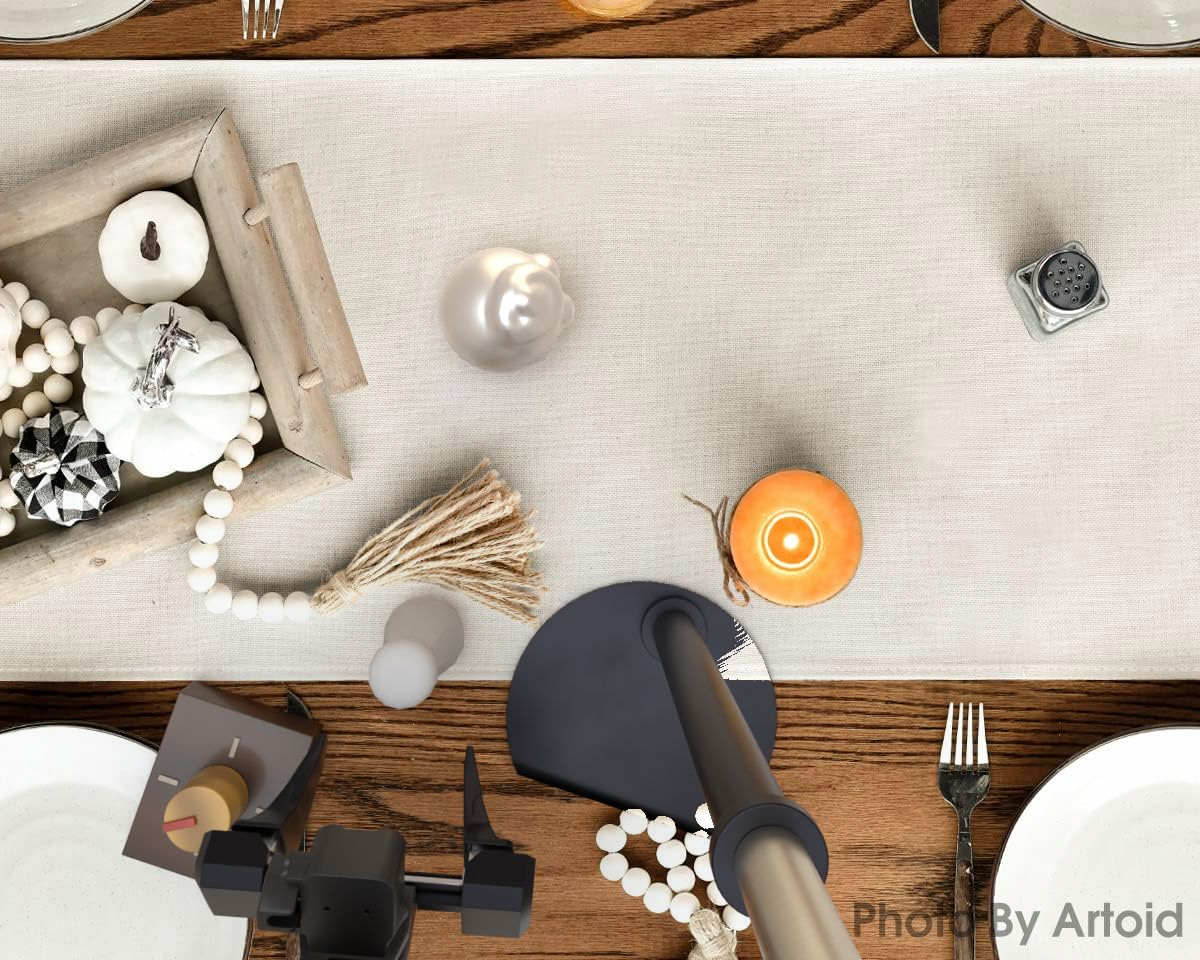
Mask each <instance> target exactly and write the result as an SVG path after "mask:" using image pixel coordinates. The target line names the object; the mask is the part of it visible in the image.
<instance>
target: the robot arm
mask: <svg viewBox="0 0 1200 960" xmlns="http://www.w3.org/2000/svg"><path fill="white" fill-rule="evenodd" d="M328 742H329V739H328V735H327V733H320V735H319V736H318V738H317V739H316V741H315V742H314V744H313V745H312V747H311V748H310V750H309V751H308V753H307V754H306V756H305V757H304V759H303V760H302V762H301V763H300V765H299V766H298V768H297V769H296V771H295V772H294V774H293V775H292V777H291V778H290V780H289V781H288V783H287V784H286V786H285V787H284V788H283V790H282V791H281V792H280V793H279V795H278V796H277V797H276V798H275V799H274V801H273V802H272V803H271V804H270V805H269V806H268V807H267V808H266V809H265V810H264V811H262V812H260V813H259V814H257V815H256V816H254V817H252V818H250V819H237V820H235V821H234V822H233V824H232V825H231V827H230V829H231V831H223V830H211V831H208V832H206V833H204V836H203V839H202V843H201V846H200V849H199V852H198V855H197V859H196V862H195V871H194V879H193V880H194V881H195V883H196V885H197V887H198V888H199V891H200V893H201V895H202V897H203V898H204V901H205V903H206V905H207V906H208V908H209V910H210V912H211V914H212V915H213V916H216V917H229V918H240V919H256V928H257V930H258V931H261V932H262V931H263V932H276V933H278V932H279V933H288V934H296V935H297V934H298V940H299V941H298V943H299V959H298V960H409V958H410V952H411V947H412V940H413V934H414V927H415V923H416V922H415V921H416V915H417V911H429V912H440V913H441V912H442V913H453V914H454V913H455V914H460V926H461V928H460V929H461V931H460V932H461V935H464V936H465V935H466V936H467V935H468V936H480V937H493V938H506V939H517V940H518V939H520V938H521V937H522V936H523V935H524V934H525V933H526V932H527V931H528V930H529V929H530V928H531V918H532V911H533V910H532V908H533V897H534V887H535V876H536V863H537V858H536V857H533V856H531V855H529V854H527V853H519V852H518V853H517V852H515V843H514V842H513V841H511V840H510V839H506V838H499V837H498V836H497V834H496V832H495V831H494V828H493V827H492V824H491V820H490V818H489V816H488V812H487V809H486V806H485V802H484V798H483V793H482V787H481V782H480V781H481V780H480V777H479V770H478V765H477V759H476V755H475V749H474V746H473V745H466V748H465V755H464V760H463V761H464V762H463V804H462V805H463V807H462V808H463V810H462V811H463V812H462V813H463V815H462V816H463V817H462V818H463V819H462V820H463V822H462V823H463V824H462V827H463V828H462V830H463V831H462V857H463V858H462V859H463V869H462V874H451V873H450V874H449V873H437V872H425V871H411V870H406V851H407V841H406V840H405V837H404V836H403V835H402V834H401V833H400V832H398V831H396V830H394V829H390V828H378V829H376V830H366V829H365V830H364V829H353V828H351V829H350V828H344V827H343V825H341V824H326V825H323V826H321V827H319V828H318V829H317V830H316V832H315V835H314V837H313V840H312V843H311V844H312V845H311V847H310V850H309V851H305V850H300V847H301V843H302V840H303V836H304V833H305V830H306V827H307V824H308V821H309V817H310V813H311V810H312V806H313V803H314V800H315V797H316V794H317V790H318V786H319V783H320V780H321V777H322V774H323V769H324V766H325V759H326V755H327V749H328Z"/></svg>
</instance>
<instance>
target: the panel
mask: <svg viewBox="0 0 1200 960" xmlns="http://www.w3.org/2000/svg"><path fill="white" fill-rule="evenodd" d="M323 727H324V724H323V723H321V722H318V721H316V720H313V719H309V718H307V717H304V716H301V715H298V714H295V713H292V712H289V711H286V710H283V709H280V708H277V707H274V706H271V705H268V704H266V703H262V702H260V701H256V700H254V699H251V698H247V697H244V696H241V695H239V694H235V693H233V692H230V691H227V690H225V689H221V688H218V687H215V686H212V685H211V684H210V685H209V684H208V683H207V684H206V683H203V682H200V681H198V680H193V681H192V682H190V683H189V684H188V685H187V686H185V687H184V688H182V689H181V690H180V691H179V692H178V694H177V697H176V701H175V703H174V706H173V709H172V712H171V714H170V717H169V720H168V722H167V725H166V728H165V731H164V734H163V737H162V740H161V742H160V745H159V748H158V750H157V754H156V756H155V758H154V762H153V764H152V768H151V770H150V773H149V776H148V779H147V782H146V784H145V787H144V790H143V793H142V796H141V798H140V801H139V804H138V807H137V810H136V812H135V815H134V819H133V821H132V823H131V826H130V829H129V832H128V835H127V838H126V840H125V844H124V846H123V848H122V852H121V855H122V856H124V857H126V858H130V859H132V860H136V861H139V862H141V863H144V864H146V865H147V864H148V865H151V866H153V867H156V868H159V869H161V870H165V871H168V872H171V873H174V874H176V875H181V876H184V877H186V878H189V879H191V880H195V879H194V871H195V862H196V859H197V855H198V853H193V852H188V851H185V850H182V849H180V848H179V847H177V846H176V845H175V844H174V843H173V842H172V841H171V840H170V838H169V837H168V835H167V833H166V832H165V833H164V830H163V824H164V814H165V810H166V807H167V805H168V803H169V801H170V800H171V799H172V798H173V797H174V795H175V794H176V793H177V792H178V791H179V790H180V789H181V788H182V787H183V786H184V785H185V784H186V783H187V782H188V781H189V780H190V779H191V778H192V777H193V776H194V775H195V774H196V773H197V772H199V771H200V770H202V769H204V768H206V767H209V766H214V765H221V766H226V767H229V768H231V769H233V770H235V771H236V772H238V773H239V774H240V775H241V777H242V778H243V779H244V781H245V783H246V785H247V789H248V804H247V807H246V810H245V812H244V813H243V815H242V816H241V817H240V819H250V818H252V817H254V816H256V815H257V814H259V813H260V812H262V811H264V810H265V809H266V808H267V807H268V806H269V805H270V804H271V803H272V802H273V801H274V799H275V798H276V797H277V796H278V795H279V793H280V792H281V791H282V790H283V788H284V787H285V786H286V784H287V783H288V781H289V780H290V778H291V777H292V775H293V774H294V772H295V771H296V769H297V768H298V766H299V765H300V763H301V762H302V760H303V759H304V757H305V756H306V754H307V753H308V751H309V750H310V748H311V747H312V745H313V744H314V742H315V741H316V739H317V738H318V736H319V735H320V734H322V730H323ZM230 831H231V830H230Z"/></svg>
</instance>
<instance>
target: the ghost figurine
mask: <svg viewBox="0 0 1200 960" xmlns="http://www.w3.org/2000/svg"><path fill="white" fill-rule="evenodd" d="M560 278H561V270H560V267H559V265H558V263H557V262H556V261H555V260H554V259H553V258H552V257H551V256H550V255H548V254H547V253H543V252H537V253H536V252H535V253H529V252H526V251H523V250H521V249H517V248H512V247H503V246H502V247H501V246H498V247H490V248H485V249H481V250H479V251H476V252H474V253H471V254H470V255H468V256H467V257H465V258H464V259H462V260H461V261H459V263H458V264H456V266H455V267H454V268H453V269H451V271H450V273H449V274H448V276H447V277H446V279H445V280H444V283H443V285H442V287H441V290H440V294H439V299H438V306H437V307H438V310H437V311H438V312H437V313H438V321H439V326H440V329H441V332H442V334H443V337H444V338H445V341H446V342H447V344H448V345H449V347H450V348H451V349H452V351H453V352H454V353H455V354H456V355H457V356H458V357H459V358H460V359H462V360H463V361H464V362H466V363H467V364H469V365H471V366H473V367H475V368H477V369H480V370H483V371H486V372H490V373H491V372H492V373H501V374H502V373H512V372H517V371H521V370H524V369H526V368H528V367H530V366H533V365H534V364H536V363H537V362H539V361H540V360H541V359H543V357H546V355H547V354H549V351H551V349H552V348H553V346H554V345H555V344H556V342H557V340H558V338H559V336H560V333H562V331H563V330H564V329H567V328H568V327H569V326H570V325H571V324H572V323H573V321H574V319H575V317H576V316H575V315H576V309H575V302H574V300H573V299H572V297H571V296H569V294H567V293H566V292H564V289H563V287H562V285H561V283H560Z"/></svg>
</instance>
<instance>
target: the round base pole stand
mask: <svg viewBox="0 0 1200 960" xmlns="http://www.w3.org/2000/svg"><path fill="white" fill-rule="evenodd" d="M631 581H632V582H630V581H623V582H624V583H622V582H617V583H616V584H615V583H611V584H612V585H611V584H608V585H609V586H608V585H605V587H604V586H601V587H597V588H595V589H593V590H590V591H588V592H585V593H583V594H581V595H579V596H578V597H576V598H574V599H572V600H571V601H569V602H567V603H566V604H564V605H563V606H562V607H561V608H559V609H558V610H556V611H555V612H554V613H553V614H552V615H551V616H550V617H549V618H547V620H545V622H544V623H542V625H541V626H540V627H539V628H538V629H537V630H536V632H535V633H534V634H533V636H532V637H531V638H530V640H529V641H528V643H527V644H526V646H525V648H524V650H523V652H522V653H521V655H520V657H519V659H518V662H517V665H516V666H515V669H514V671H513V674H512V678H511V681H510V685H509V689H508V693H507V694H508V695H507V701H506V709H505V731H506V739H507V746H508V747H507V748H508V750H509V754H510V757H511V762H512V765H513V767H514V769H515V772H516V775H517V776H520V777H523V778H526V779H528V780H531V781H535V782H537V783H540V784H543V785H546V786H549V787H552V788H555V789H558V790H561V791H564V792H566V793H570V794H572V795H576V796H579V797H582V798H585V799H587V800H590V801H594V802H596V803H599V804H602V805H605V806H608V807H612V808H614V809H618V810H620V811H623V812H626V810H628V809H641V810H642V811H643V812H644V813H645V815H646V818H647V820H650V821H651V822H655V821H654V820H655V819H656V818H657V817H658V816H666V817H669V818H671V819H672V820H673V821H674V822H675V826H676V828H675V829H676V830H679V831H682V832H685V833H688V834H690V835H694V836H696V834H693V833H695V832H697V831H700V830H703V831H705V832H707V834H708V835H709V836H708V838H710V840H709V844H708V845H709V846H708V861H709V866H710V869H711V874H712V876H713V880H714V883H715V886H716V889H717V890H718V892H719V894H720V896H721V897H722V898H723V900H724V901H725V902H726V903H727V904H728V905H729V906H730V907H731V908H732V909H733V910H734V911H736V912H737V913H739V914H741V915H742V916H744V917H746V918H747V919H748V918H749V922H750V923H751V924H750V925H751V927H752V929H753V932H754V935H755V939H756V941H757V945H758V947H759V950H760V953H761V957H762V959H763V960H863V959H862V957H861V955H860V952H859V951H858V949H857V947H856V945H855V942H854V941H853V939H852V937H851V934H850V933H849V931H848V929H847V927H846V925H845V923H844V921H843V919H842V917H841V915H840V914H839V911H838V910H837V907H836V905H835V904H834V901H833V899H832V897H831V896H830V894H829V891H828V889H827V887H826V886H825V885H826V882H827V879H828V874H829V868H830V854H829V849H828V845H827V842H826V839H825V836H824V834H823V832H822V830H821V829H820V827H819V825H818V823H817V822H816V819H814V817H813V816H812V814H810V812H809V811H808V810H807V809H806V808H805V807H804V806H803V805H801V804H799V802H797V801H795V800H793V799H791V798H789V797H786V796H785V794H784V792H783V790H782V788H781V787H780V784H779V783H778V781H777V778H776V777H775V775H774V773H773V771H772V769H771V767H770V763H771V759H772V756H773V752H774V748H775V745H776V737H777V736H776V735H777V728H778V707H777V701H776V692H775V688H774V685H773V680H772V681H769V680H764V681H762V680H755V681H754V680H738V679H737V680H729V678H728V679H723V677H722V675H721V673H723V672H725V671H727V670H728V669H727V670H724V671H722V672H720V671H719V669H720V668H722V667H724V666H722V667H720V666H721V665H723V664H725V663H723V664H721V665H718V664H720V663H722V662H723V661H725V660H727V659H728V658H730V657H731V656H732V655H731V656H728V657H726V658H724V659H721V660H719V659H720V658H721V657H722V656H724V655H726V654H727V653H729V652H731V651H732V650H734V649H736V648H737V647H739V646H740V645H742V644H743V643H745V642H746V641H747V640H746V641H744V639H747V638H748V637H746V638H744V639H742V638H743V637H745V636H746V635H747V633H748V631H746V632H745V633H744V634H742V635H740V636H738V637H736V636H737V635H739V634H740V633H742V632H743V631H745V630H746V629H745V628H744V627H743V629H741V630H739V631H737V629H739V628H740V627H741V626H742V624H740V625H738V626H736V627H735V625H736V624H737V622H738V620H737V621H735V622H734V618H735V617H734V618H733V617H732V616H733V615H732V614H731V613H729V612H728V611H727V610H725V609H724V608H723V607H722V606H720V605H719V604H718V603H716V602H715V601H713V600H711V599H710V598H708V597H706V596H704V595H703V596H702V594H701V593H699V594H697V593H698V592H696V591H694V592H693V590H691V589H689V588H687V589H685V588H686V587H684V588H681V587H682V586H680V587H678V586H679V585H676V586H674V585H675V584H673V585H671V584H672V583H669V584H667V583H668V582H662V583H659V582H660V581H655V582H652V581H653V580H631ZM647 581H649V582H647ZM665 583H666V584H665ZM688 589H689V590H688ZM690 590H691V591H690ZM695 592H696V593H695ZM700 594H701V595H700ZM705 597H706V598H705ZM707 598H708V599H707ZM709 599H710V600H711V601H710V600H709ZM712 601H713V602H712ZM714 602H715V603H716V604H715V603H714ZM717 604H718V605H719V606H718V605H717ZM721 607H722V608H723V609H722V608H721ZM726 611H727V612H728V613H727V612H726ZM730 614H731V615H732V616H731V615H730ZM744 629H745V630H744ZM735 637H736V638H735ZM740 639H742V640H740ZM749 639H750V638H749ZM749 639H748V640H749ZM739 640H740V641H739ZM737 641H738V642H737ZM743 641H744V642H743ZM752 643H753V642H752ZM750 644H751V643H750ZM750 644H748V645H750ZM735 645H736V646H735ZM748 645H746V646H748ZM744 647H745V646H744ZM744 647H742V648H740V649H738V650H736V651H739V650H741V649H743V648H744ZM734 652H735V651H734ZM739 652H740V651H739ZM737 653H738V652H737ZM737 653H735V654H737ZM735 654H733V655H735ZM717 660H719V661H717ZM717 665H718V666H717ZM727 665H728V664H727ZM725 666H726V665H725ZM705 803H707V806H708V810H709V813H710V816H711V819H712V822H713V825H714V828H708V829H706V828H705V829H704V828H703V827H701V826H700V825H699V824H698V823H697V821H696V818H695V814H696V811H697V809H698V807H699V806H701V805H702V804H705ZM646 818H645V819H646Z"/></svg>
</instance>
